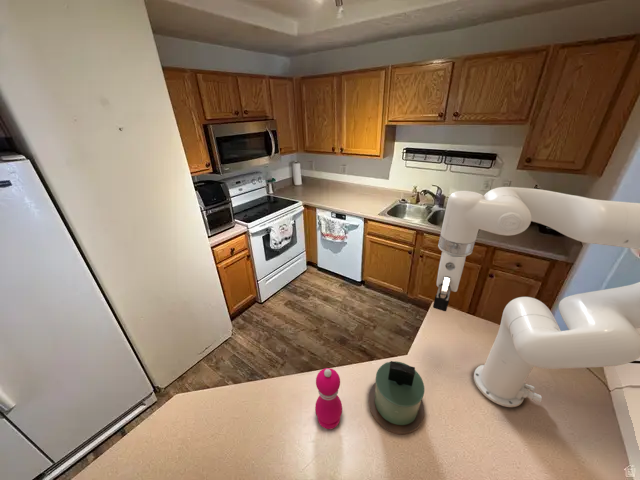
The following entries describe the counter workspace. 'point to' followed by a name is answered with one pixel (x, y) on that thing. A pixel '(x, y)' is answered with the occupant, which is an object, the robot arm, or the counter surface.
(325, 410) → the pepper mill
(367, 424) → the counter surface
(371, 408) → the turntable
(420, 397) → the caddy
